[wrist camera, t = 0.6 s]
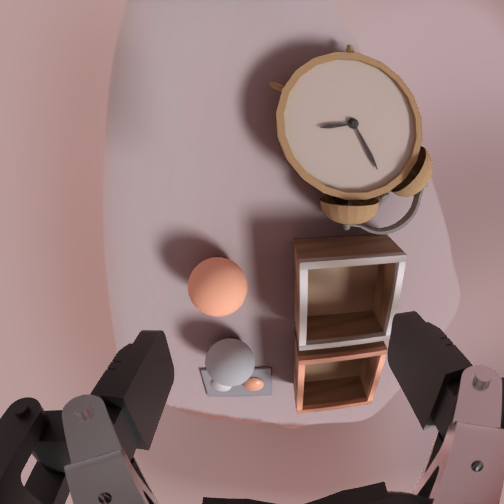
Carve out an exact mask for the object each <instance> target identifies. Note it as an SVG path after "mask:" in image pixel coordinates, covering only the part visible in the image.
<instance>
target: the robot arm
mask: <svg viewBox="0 0 504 504" xmlns="http://www.w3.org/2000/svg"><path fill="white" fill-rule="evenodd" d="M388 362H389V366H390V368H391V370H392V372H393V373H394V375H395V377H396V379H397V381H398V382H399V384H400V386H401V388H402V390H403V392H404V394H405V395H406V397H407V399H408V401H409V403H410V405H411V407H412V409H413V411H414V413H415V415H416V416H417V418H418V420H419V422H420V424H421V426H422V428H423V430H425V429H428V428H431V427H434V426H436V427H437V429H438V431H437V433H436V436H435V438H434V441H433V445H432V447H431V450H430V453H429V456H428V459H427V462H426V464H425V467H424V470H423V472H422V475H421V478H420V479H419V482H418V484H417V485H416V487H415V489H414V491H413V493H412V494H411V493H405V492H393V491H391V492H390V491H389V492H387V489H386V486H385V482H381V483H377V484H372V485H368V486H364V487H359V488H354V489H349V490H343V491H340V492H338V493H335V494H333V495H329V496H327V497H324V498H321V499H318V500H315V501H312V502H309V503H306V504H499V502H500V497H501V493H502V488H503V481H504V378H501V377H500V376H499V374H498V373H497V372H496V371H495V370H493V369H492V368H490V367H487V366H483V365H474V366H473V365H472V364H471V363H470V362H469V360H468V359H467V358H466V357H465V356H464V355H463V354H462V353H461V351H459V349H458V348H457V347H456V346H455V345H453V342H451V340H450V339H449V338H447V336H446V335H445V334H444V333H443V331H442V330H441V329H440V328H438V327H436V326H434V325H433V324H431V323H429V322H427V323H426V322H425V321H424V320H423V319H422V318H421V316H420V315H419V314H418V313H417V312H415V311H411V312H405V313H398V314H395V315H394V317H393V321H392V328H391V334H390V340H389V346H388ZM173 381H174V367H173V363H172V359H171V355H170V352H169V348H168V344H167V340H166V336H165V334H164V332H163V331H156V330H142V331H141V332H140V333H139V335H138V336H137V338H136V339H135V341H134V342H133V344H128V345H126V346H125V347H124V348H122V349H121V350H120V351H119V352H118V353H117V354H116V356H115V357H114V359H113V362H111V364H110V365H109V367H108V370H106V371H105V373H104V374H103V375H102V377H101V378H100V380H99V381H98V383H97V385H96V386H95V388H94V389H93V391H92V392H91V394H90V395H81V396H78V397H75V398H73V399H72V400H70V401H69V402H68V403H67V404H66V405H65V406H64V408H63V410H56V411H44V410H43V408H42V407H41V405H40V403H39V402H38V401H37V400H36V399H34V398H22V399H19V400H17V401H15V402H14V403H13V404H11V405H10V406H9V408H8V409H7V410H6V412H5V413H4V415H3V416H2V417H1V419H0V504H65V502H66V500H67V497H68V495H69V492H70V494H71V497H72V500H73V504H160V503H159V501H158V500H157V498H156V496H155V495H154V493H153V491H152V489H151V487H150V486H149V484H148V482H147V480H146V478H145V476H144V475H143V473H142V471H141V469H140V467H139V465H138V463H137V461H136V459H135V457H134V453H135V450H136V448H138V449H144V450H149V449H150V446H151V443H152V440H153V437H154V434H155V431H156V429H157V426H158V423H159V420H160V417H161V414H162V412H163V409H164V406H165V403H166V401H167V398H168V395H169V392H170V390H171V387H172V384H173ZM31 454H32V455H33V456H34V457H35V458H36V460H37V462H36V465H35V466H34V468H33V470H32V472H31V474H30V476H29V478H28V480H27V482H26V484H25V486H23V485H22V482H21V472H22V470H23V468H24V466H25V464H26V463H27V461H28V459H29V457H30V455H31ZM202 504H274V503H268V502H261V501H256V500H251V499H226V498H207V497H203V503H202Z"/></svg>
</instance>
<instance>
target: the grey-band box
mask: <svg viewBox="0 0 504 504" xmlns="http://www.w3.org/2000/svg"><path fill="white" fill-rule="evenodd" d="M293 254H294V322H295V328H296V334H297V340H298V347H299V351H302V350H313V349H323V348H333V347H341V346H350V345H357V344H365V343H372V342H379V341H385V340H390V334H391V328H392V321H393V317H394V315H395V314H396V313H397V308H398V303H399V298H400V293H401V287H402V282H403V276H404V270H405V264H406V257H407V255H406V254H405V253H404V252H403V251H402V249H401V248H400V247H399V246H398V245H397V244H396V243H395V242H394V241H393V240H392V239H391V238H390V237H389V236H388V235H387V234H385V235H380V234H373V235H355V236H337V237H320V238H304V239H293Z"/></svg>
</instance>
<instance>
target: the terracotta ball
mask: <svg viewBox="0 0 504 504" xmlns="http://www.w3.org/2000/svg"><path fill="white" fill-rule="evenodd" d="M188 292H189V296H190V299H191V301H192V302H193V304H194V305H195V307H196V308H197V309H199V310H200V311H201V312H203V313H205V314H207V315H210V316H218V317H219V316H225V315H228V314H231V313H233V312H234V311H236V310H237V309H238V308H239V307H240V306H241V305H242V303H243V301H244V299H245V297H246V294H247V280H246V277H245V275H244V273H243V271H242V269H241V268H240V267H239V266H238V265H237V264H236V263H234V262H233V261H231V260H229V259H226V258H221V257H213V258H208V259H206V260H204V261H202V262H200V263H199V264H198V265H197V266H196V267H195V268H194V269H193V271H192V273H191V275H190V277H189V281H188Z"/></svg>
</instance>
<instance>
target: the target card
mask: <svg viewBox="0 0 504 504" xmlns="http://www.w3.org/2000/svg"><path fill="white" fill-rule="evenodd" d="M201 373H202V376H203V380H204V383H205V387H206V390H207V394H208V397H237V396H267V395H272V385H271V367H260V368H254V371H253V373H252V375H251V376H250V378H249V379H248V380H247V381H245V382H244V383H242V384H240V385H237V386H224V385H221V384H219V383H217V382H215V381H214V380H213V379H212V378H211V377H210V376H209V374H208V372H207V369H201Z"/></svg>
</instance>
